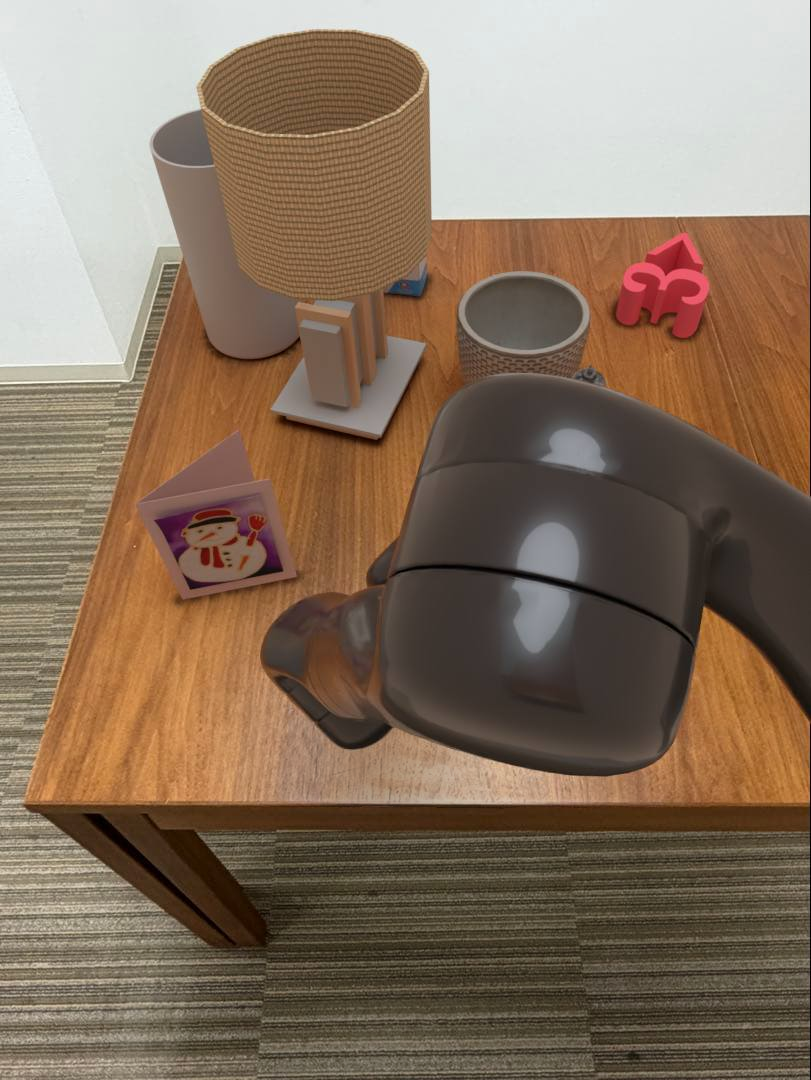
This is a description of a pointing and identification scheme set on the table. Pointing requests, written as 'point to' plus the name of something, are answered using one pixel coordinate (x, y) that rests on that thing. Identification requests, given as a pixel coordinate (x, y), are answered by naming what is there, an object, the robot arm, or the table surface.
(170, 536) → the greeting card
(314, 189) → the desk lamp
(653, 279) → the letters
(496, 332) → the planter
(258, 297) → the cylinder vase
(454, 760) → the table surface
